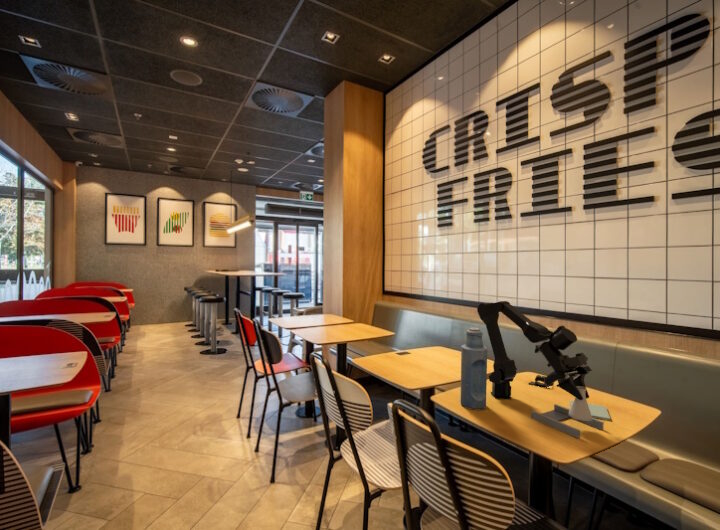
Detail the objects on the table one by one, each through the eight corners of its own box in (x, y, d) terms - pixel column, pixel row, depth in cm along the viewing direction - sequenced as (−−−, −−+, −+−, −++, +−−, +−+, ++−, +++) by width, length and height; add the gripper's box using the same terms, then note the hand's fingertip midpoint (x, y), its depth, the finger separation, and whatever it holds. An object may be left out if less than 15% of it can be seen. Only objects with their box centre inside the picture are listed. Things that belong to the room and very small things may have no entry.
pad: (571, 413, 135) (571, 411, 135) (569, 402, 146) (569, 400, 146) (610, 420, 130) (610, 418, 130) (605, 408, 140) (605, 406, 140)
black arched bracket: (558, 387, 165) (558, 377, 164) (553, 392, 159) (554, 381, 159) (528, 381, 173) (529, 371, 173) (523, 385, 167) (524, 375, 167)
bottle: (478, 399, 148) (479, 325, 148) (491, 409, 138) (492, 330, 138) (456, 401, 146) (457, 326, 146) (467, 411, 137) (468, 330, 136)
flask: (596, 423, 118) (597, 392, 118) (572, 420, 120) (573, 390, 120) (587, 413, 126) (588, 384, 125) (564, 411, 127) (565, 383, 127)
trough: (530, 417, 131) (531, 410, 131) (555, 410, 138) (555, 404, 138) (578, 438, 116) (578, 430, 116) (603, 429, 123) (603, 422, 123)
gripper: (553, 347, 121) (586, 392, 112) (587, 342, 130) (620, 383, 120) (531, 365, 128) (560, 408, 119) (565, 358, 137) (594, 398, 128)
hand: (585, 398), depth 121 cm, fingers closed on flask, 3 cm apart
